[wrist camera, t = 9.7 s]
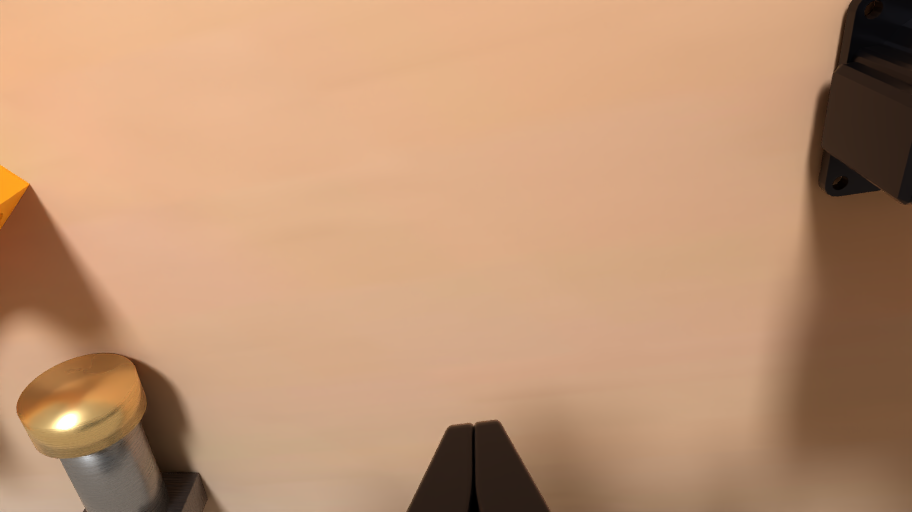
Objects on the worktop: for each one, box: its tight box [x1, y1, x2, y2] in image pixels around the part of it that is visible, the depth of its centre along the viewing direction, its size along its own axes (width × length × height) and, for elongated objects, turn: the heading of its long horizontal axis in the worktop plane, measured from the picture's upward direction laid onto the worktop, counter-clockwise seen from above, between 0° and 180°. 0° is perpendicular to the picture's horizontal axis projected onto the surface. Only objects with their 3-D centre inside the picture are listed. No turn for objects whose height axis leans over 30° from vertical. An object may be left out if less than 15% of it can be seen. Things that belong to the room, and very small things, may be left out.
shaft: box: [17, 353, 207, 512], centre depth 25 cm, size 10×4×4 cm, turn 179°
